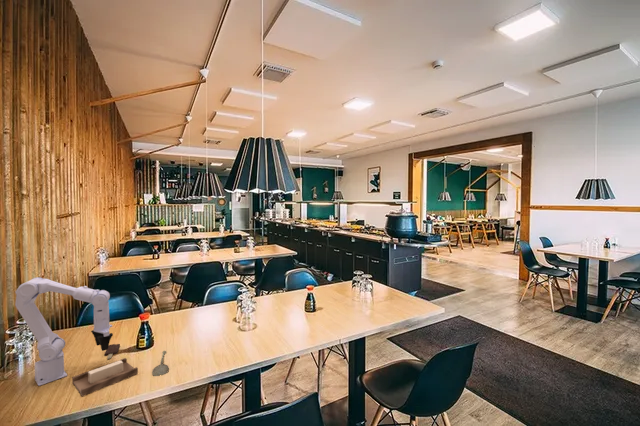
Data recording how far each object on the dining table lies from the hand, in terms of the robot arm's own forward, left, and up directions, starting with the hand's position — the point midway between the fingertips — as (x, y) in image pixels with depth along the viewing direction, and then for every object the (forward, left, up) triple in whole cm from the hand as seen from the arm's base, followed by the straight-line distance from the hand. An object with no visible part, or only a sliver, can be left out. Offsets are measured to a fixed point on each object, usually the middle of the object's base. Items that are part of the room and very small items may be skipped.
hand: (102, 347), depth 139 cm
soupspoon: (+19, -17, -11) cm, 28 cm away
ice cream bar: (+8, +13, -10) cm, 19 cm away
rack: (-2, -11, -10) cm, 15 cm away
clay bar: (-2, -11, -9) cm, 14 cm away
